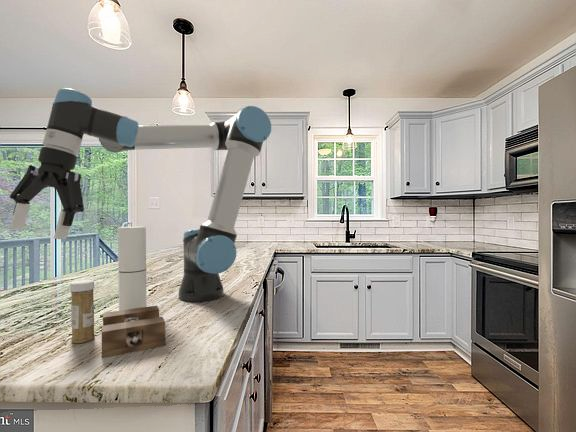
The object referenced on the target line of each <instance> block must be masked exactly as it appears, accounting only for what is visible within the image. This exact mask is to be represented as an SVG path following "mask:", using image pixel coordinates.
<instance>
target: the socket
mask: <svg viewBox="0 0 576 432" xmlns="http://www.w3.org/2000/svg"><path fill="white" fill-rule="evenodd" d="M102 314H103V315H102V326H101V358H108V357H113V356H118V355H122V354H128V353H132V352H137V351H143V350H146V349H147V350H148V349H152V348H157V347H163V346H166V321H165V319H164V317H163V316H160V308H159V306H158V305H150V306H147V307H142V308H134V309H127V310H120V311H119V310H115V311H113V310H112V311H107V312H103V313H102ZM132 317H134V318H138V319H136V320H137V321H131V322H127V321H126V320H125V319H129V318H132ZM134 331H140V334H139V335H138V337H137V338H138V342H137V343H133V341H132V338H130V337H129V336H128V333H129V332H134Z"/></svg>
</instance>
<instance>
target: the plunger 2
mask: <svg viewBox="0 0 576 432" xmlns="http://www.w3.org/2000/svg"><path fill="white" fill-rule="evenodd" d="M139 334H140V331H134V332H129V333H128V336H129V337H130V338H132V341H133V343H137V342H138V338H137V337H138V335H139Z"/></svg>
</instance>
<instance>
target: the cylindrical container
mask: <svg viewBox="0 0 576 432" xmlns="http://www.w3.org/2000/svg"><path fill="white" fill-rule="evenodd" d="M146 237H147V227H146V226H118V227H117V242H118V243H117V246H118V247H117V248H118V249H117V253H118V254H117V256H118V257H117V258H118V260H117V263H118V267H117V268H118V272H117V273H118V311H120V310H127V309H134V308H142V307H148V305H147V302H148V301H147V238H146ZM133 318H135V317H133Z"/></svg>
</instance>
